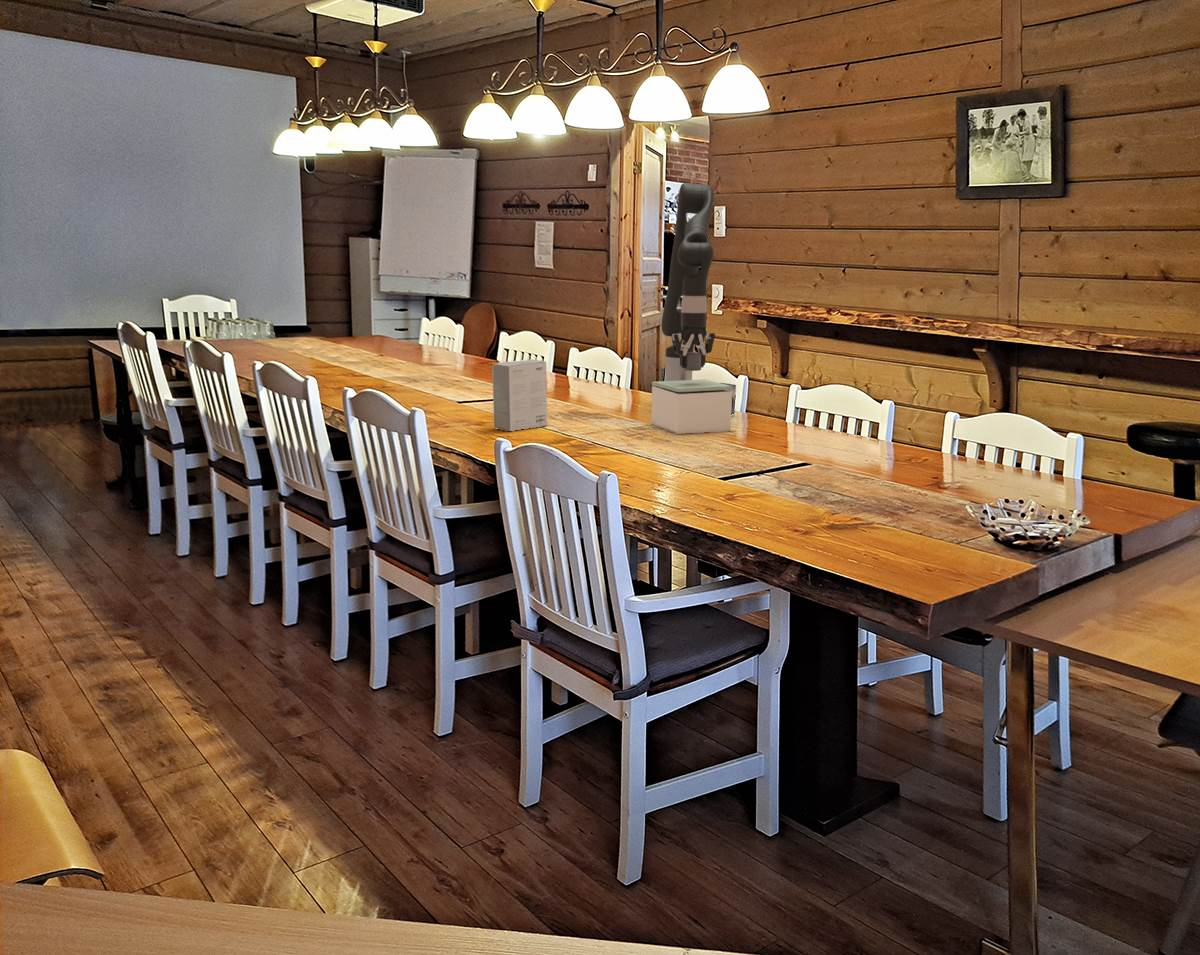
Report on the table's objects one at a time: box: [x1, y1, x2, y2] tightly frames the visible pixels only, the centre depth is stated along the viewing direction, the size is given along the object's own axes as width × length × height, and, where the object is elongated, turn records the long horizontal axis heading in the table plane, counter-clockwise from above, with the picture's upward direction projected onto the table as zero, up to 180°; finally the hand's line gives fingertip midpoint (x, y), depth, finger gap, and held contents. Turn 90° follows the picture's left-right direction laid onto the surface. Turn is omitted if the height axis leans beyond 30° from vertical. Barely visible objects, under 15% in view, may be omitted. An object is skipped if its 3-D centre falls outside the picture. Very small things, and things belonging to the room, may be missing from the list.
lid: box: [651, 379, 732, 392], centre depth 322 cm, size 18×18×1 cm
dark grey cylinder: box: [684, 351, 702, 372], centre depth 320 cm, size 5×5×5 cm
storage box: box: [650, 385, 732, 435], centre depth 323 cm, size 18×18×12 cm
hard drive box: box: [491, 358, 548, 432], centre depth 320 cm, size 16×8×20 cm, turn 135°
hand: (692, 367), depth 320 cm, fingers closed on dark grey cylinder, 5 cm apart
